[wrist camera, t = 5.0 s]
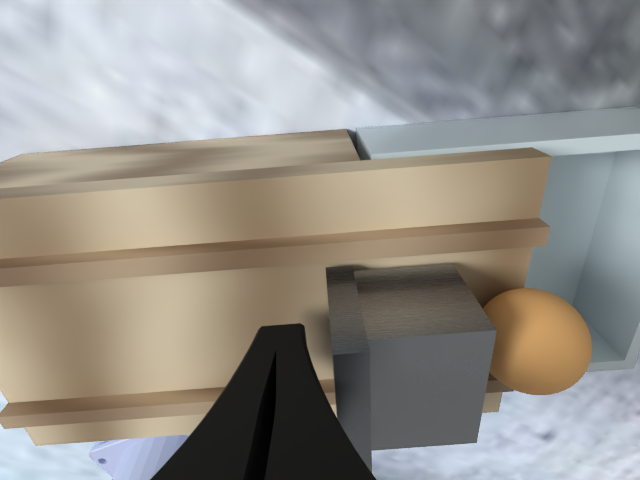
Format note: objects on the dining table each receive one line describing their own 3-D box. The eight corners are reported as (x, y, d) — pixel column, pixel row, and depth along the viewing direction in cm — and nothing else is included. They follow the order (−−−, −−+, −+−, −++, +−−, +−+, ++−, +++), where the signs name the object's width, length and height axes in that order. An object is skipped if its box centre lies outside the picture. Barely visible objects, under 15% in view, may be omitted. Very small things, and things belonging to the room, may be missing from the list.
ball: (601, 353, 12) (600, 428, 10) (497, 347, 14) (477, 409, 11) (584, 266, 11) (578, 328, 9) (476, 273, 13) (450, 325, 11)
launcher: (103, 344, 20) (25, 460, 14) (21, 154, 15) (-139, 216, 10) (450, 319, 20) (505, 425, 14) (471, 119, 15) (564, 162, 10)
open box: (361, 325, 20) (373, 387, 16) (356, 128, 15) (371, 154, 12) (574, 309, 20) (633, 368, 16) (633, 106, 15) (732, 126, 12)
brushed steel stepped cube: (333, 374, 13) (341, 478, 10) (325, 267, 11) (333, 354, 8) (442, 366, 13) (484, 468, 10) (453, 257, 11) (510, 341, 8)
